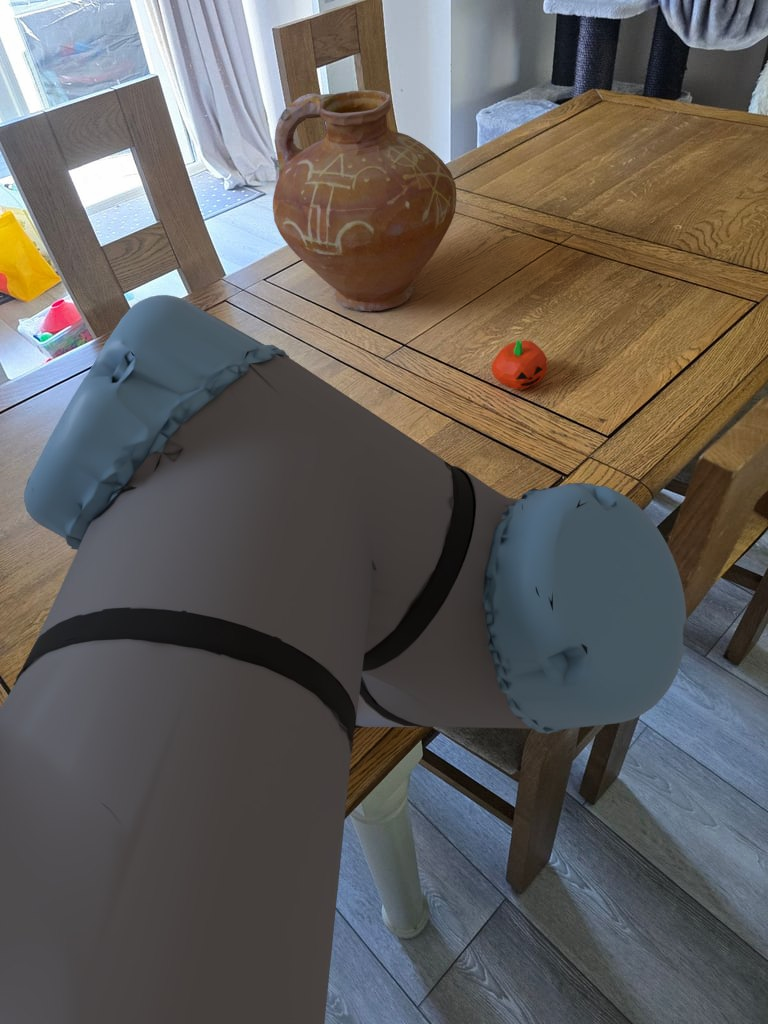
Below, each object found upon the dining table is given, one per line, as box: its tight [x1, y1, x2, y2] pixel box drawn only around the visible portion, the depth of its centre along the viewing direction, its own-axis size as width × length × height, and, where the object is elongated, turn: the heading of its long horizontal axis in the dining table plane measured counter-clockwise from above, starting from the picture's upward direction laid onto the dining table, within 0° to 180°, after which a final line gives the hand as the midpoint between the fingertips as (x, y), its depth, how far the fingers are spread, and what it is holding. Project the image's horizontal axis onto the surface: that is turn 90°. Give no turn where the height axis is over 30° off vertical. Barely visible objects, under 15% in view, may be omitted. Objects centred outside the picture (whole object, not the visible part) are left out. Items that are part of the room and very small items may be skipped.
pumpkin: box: [491, 340, 548, 390], centre depth 94 cm, size 7×8×6 cm
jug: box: [272, 89, 458, 312], centre depth 107 cm, size 28×28×30 cm
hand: (214, 673), depth 50 cm, fingers open, 13 cm apart
